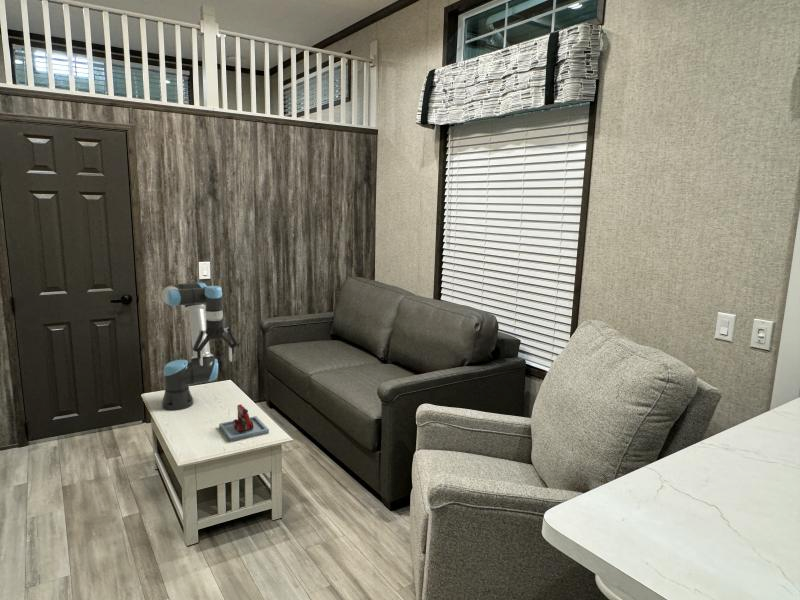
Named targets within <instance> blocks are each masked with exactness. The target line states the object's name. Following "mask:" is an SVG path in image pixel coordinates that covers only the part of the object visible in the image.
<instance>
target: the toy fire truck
mask: <svg viewBox="0 0 800 600" xmlns="http://www.w3.org/2000/svg"><path fill="white" fill-rule="evenodd" d="M236 408H237V419H233V420H232V421H233V425H234V428H237V430H238V432H242V430H244V429H246V430H251V429H253V427H254V425H253V422H252V421H250V420H249V417H250V415H249V410H248V409H246V408H245V407H244V406H243V405H242V404H238V405H237V407H236Z"/></svg>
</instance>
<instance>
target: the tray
mask: <svg viewBox="0 0 800 600" xmlns="http://www.w3.org/2000/svg"><path fill="white" fill-rule="evenodd" d="M249 420H250V421H252V422H253V425H254V427H253V429H251V430H246V429H244V430H242V432H238V430H237V428H234V425H233V421H234V420H231V421H229V420H228V421H226V422H221V423H218V424H219V425H218V428H219V429H220V431H221V432H222V433H223V434H224V436H225V437H226V439H228V441H229V442H230V443H233V442H237V441H241V440H246V439H250V437H251V438H254V436H255V437H258V436H259V435H260V436H264V435H268V433H269V434H270V429H269V428H268V427H267V426H266V424H264V423H263V421H261V420H260V418H259V417H258V416H257V415H256V416H255V415H254V416H251V417H250V416H249ZM263 434H264V435H263Z"/></svg>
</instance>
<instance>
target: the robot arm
mask: <svg viewBox="0 0 800 600" xmlns="http://www.w3.org/2000/svg"><path fill="white" fill-rule="evenodd" d="M222 291H223V290H222V287H221V286H218V285H207V284H206V283H205V282H186V283H185V282H184V283H174V284H170V285H168V286H165V287H164V288H163V289H161V291H160V299H161V301H162V302H163V303H164V304H166V305H168V306H170V307H176V306H184V310H186V311H188V318H189V319H188V320H189V327H190V328H189V329H190V337H191V343H192V345H191V346H192V353H193V354H192V357H191V358H190V361H189V362H188V360H187V359H175V360H172V361H170V362H167V363H166V364H165V365H164V367H163V376H164V379H163V380H164V394H163V398H162V401H161V407H162V408H163V409H164V410H168V411H178V410H179V411H180V410H184V409H188V408H190V407H191V406H193V404H194V398H193V395H192V393H191V391H190V385H196V384H203V383H209V382H214V381H216V380H217V378H218V374H219V362H218V359H217V358H215V357H214V354H212V353H211V348H210V341H211V340H215V339H220V338H221V339H222V340H223V341H224V342H225V343H226V344H227V345H228V360H229V362H233V355H234V353H235V347H238V345H239V344H238V342H237V341H236V339H235V338H234V336H233V334H232V332H231V327H230V328H229V327H226V328H225V327H224V320H223V318H224V317H223V316H224V315H223V292H222ZM224 333H226V334H227V335H228V336H229V338H230V341H231V342H230V341H229V340H228V338H227V337H225V336H224V335H223V334H224Z"/></svg>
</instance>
